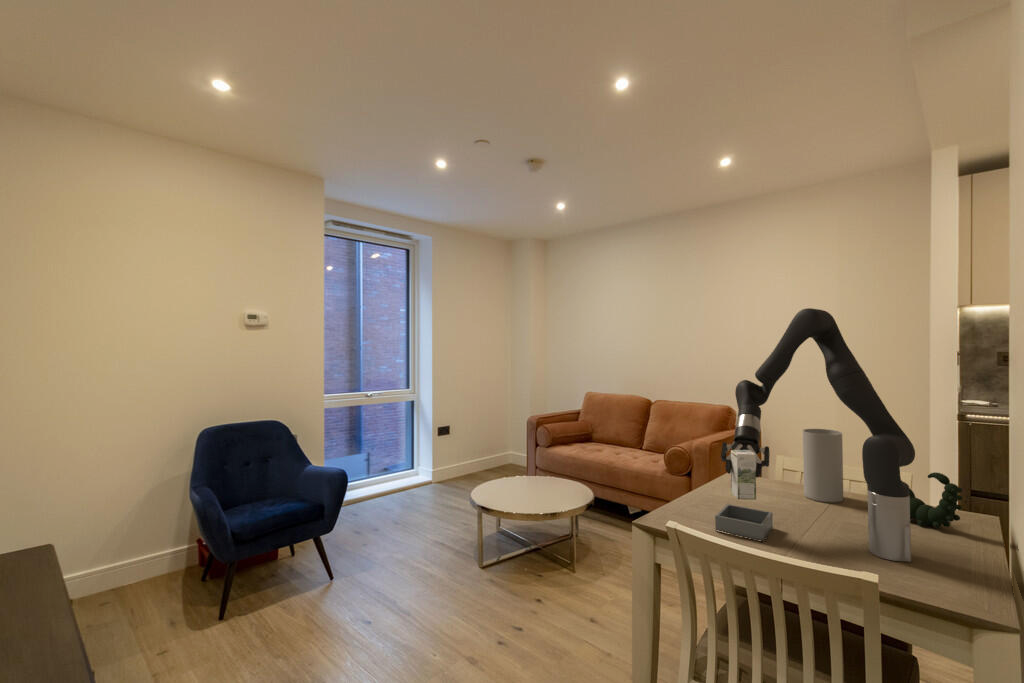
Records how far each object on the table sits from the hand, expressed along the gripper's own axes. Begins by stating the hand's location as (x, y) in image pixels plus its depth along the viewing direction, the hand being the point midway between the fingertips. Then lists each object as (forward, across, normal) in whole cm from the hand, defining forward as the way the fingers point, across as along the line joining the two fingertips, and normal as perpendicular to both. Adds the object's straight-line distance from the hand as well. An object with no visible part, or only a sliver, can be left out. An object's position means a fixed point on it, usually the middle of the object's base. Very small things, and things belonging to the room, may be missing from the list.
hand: (742, 474), depth 150 cm
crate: (+12, 0, +14) cm, 18 cm away
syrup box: (+4, 0, +6) cm, 8 cm away
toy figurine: (-13, +45, +39) cm, 62 cm away
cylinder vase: (-22, +20, +48) cm, 57 cm away
